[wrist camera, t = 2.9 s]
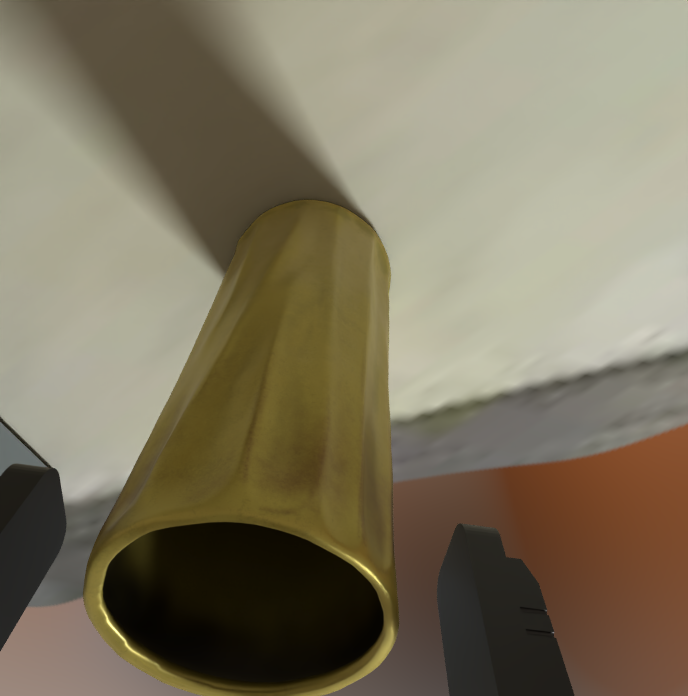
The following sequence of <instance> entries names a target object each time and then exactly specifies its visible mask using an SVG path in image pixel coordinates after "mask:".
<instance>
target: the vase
mask: <svg viewBox="0 0 688 696" xmlns="http://www.w3.org/2000/svg"><path fill="white" fill-rule="evenodd" d="M390 280H391V270H390V264H389V260H388V256H387V253H386V251H385V248H384V246H383V244H382V242H381V240H380V239H379V237H378V235H377V233H376V232H375V231H374V230H373V229H372V228H371V227H370V226H369V225H368V224H367V223H366V222H365V221H363V220H362V219H361V218H359V217H358V216H357V215H355V214H354V213H352V212H351V211H349V210H347V209H346V208H343V207H341V206H339V205H336V204H332V203H329V202H324V201H318V200H298V201H292V202H288V203H285V204H281V205H279V206H276V207H274V208H271V209H270V210H268V211H266V212H264V213H263V214H262V215H261V216H259V217H258V218H257V219H256V220H255V221H254V222H253V223H252V225H251V226H250V227H249V228H248V229H247V230H246V232H245V233H244V234H243V235H242V237H241V238H240V239H239V241H238V243H237V247H236V251H235V254H234V257H233V259H232V261H231V264H230V266H229V268H228V270H227V272H226V275H225V277H224V279H223V281H222V284H221V286H220V288H219V290H218V293H217V295H216V297H215V300H214V302H213V304H212V307H211V309H210V311H209V313H208V316H207V318H206V320H205V322H204V324H203V327H202V329H201V331H200V333H199V336H198V338H197V340H196V342H195V345H194V347H193V349H192V351H191V353H190V355H189V358H188V360H187V362H186V364H185V366H184V368H183V370H182V372H181V375H180V377H179V379H178V381H177V383H176V385H175V387H174V389H173V391H172V393H171V395H170V397H169V399H168V401H167V403H166V405H165V407H164V409H163V411H162V412H161V414H160V416H159V418H158V420H157V422H156V424H155V426H154V429H153V431H152V433H151V435H150V437H149V439H148V441H147V443H146V444H145V446H144V448H143V450H142V452H141V454H140V456H139V458H138V460H137V462H136V464H135V466H134V468H133V470H132V472H131V474H130V476H129V478H128V480H127V482H126V484H125V486H124V488H123V490H122V492H121V494H120V496H119V497H118V499H117V501H116V503H115V505H114V507H113V509H112V510H111V512H110V514H109V516H108V518H107V520H106V521H105V523H104V525H103V527H102V529H101V530H100V533H99V535H98V537H97V539H96V542H95V544H94V547H93V549H92V552H91V554H90V557H89V560H88V563H87V568H86V574H85V580H84V589H83V599H84V605H85V608H86V612H87V614H88V617H89V619H90V620H91V622H92V624H93V625H94V627H95V628H96V630H97V631H98V632H99V634H100V635H101V637H102V638H103V639H104V641H105V642H106V643H107V644H108V645H109V646H110V647H111V648H112V649H113V650H114V651H115V652H116V653H117V654H118V655H119V656H120V657H122V658H123V659H124V660H126V661H127V662H129V663H130V664H132V665H133V666H135V667H136V668H138V669H140V670H141V671H143V672H145V673H147V674H149V675H150V676H152V677H154V678H156V679H157V680H159V681H161V682H163V683H166V684H168V685H171V686H173V687H176V688H178V689H182V690H185V691H188V692H191V693H194V694H198V695H202V696H321V695H325V694H329V693H332V692H334V691H337V690H340V689H341V688H343V687H345V686H347V685H349V684H351V683H353V682H355V681H357V680H359V679H360V678H362V677H364V676H365V675H367V674H369V673H370V672H371V671H373V670H374V669H375V668H377V667H378V666H379V665H380V664H381V663H382V662H383V660H384V659H385V658H386V656H387V655H388V653H389V652H390V650H391V649H392V647H393V645H394V643H395V641H396V637H397V633H398V629H399V609H398V597H397V582H396V569H395V556H394V533H393V532H394V531H393V473H392V456H391V426H390V410H389V391H388V351H389V288H390Z"/></svg>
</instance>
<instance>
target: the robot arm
mask: <svg viewBox="0 0 688 696" xmlns="http://www.w3.org/2000/svg"><path fill="white" fill-rule="evenodd" d="M65 532H66V516H65V509H64V503H63V496H62V490H61V483H60V477H59V473H58V471H57V470H56V469H55V468H48V467H40V466H33V465H25V464H18V463H15V464H12V465H10V466H9V467H8V468H7V469H6V470H5V471H4V472H3V473H2V475H1V476H0V651H1V649H2V648H3V646H4V644H5V643H6V641H7V639H8V638H9V636H10V634H11V632H12V631H13V629H14V627H15V626H16V624H17V622H18V621H19V619H20V617H21V616H22V614H23V612H24V610H25V609H26V607H27V605H28V604H29V602H30V600H31V599H32V597H33V595H34V594H35V592H36V590H37V589H38V587H39V585H40V584H41V582H42V580H43V579H44V577H45V575H46V573H47V572H48V570H49V568H50V567H51V565H52V563H53V562H54V560H55V558H56V557H57V555H58V553H59V551H60V549H61V546H62V544H63V541H64V537H65ZM437 602H438V610H439V618H440V626H441V634H442V641H443V648H444V657H445V664H446V671H447V680H448V687H449V695H450V696H574V693H573V689H572V686H571V683H570V680H569V677H568V674H567V671H566V668H565V664H564V662H563V658H562V655H561V652H560V649H559V646H558V643H557V640H556V638H554V630H553V627H552V624H551V621H550V618H549V616H548V615H547V608H546V605H545V602H544V599H543V596H542V593H541V589H540V586H539V583H538V582H537V581H536V579H535V578H534V577H533V575H532V574H531V572H530V571H529V570H528V568H527V567H526V565H525V564H524V563H523V561H522V560H521V559H515V558H507V557H506V556H505V552H504V548H503V545H502V541H501V538H500V534H499V532H498V531H497V529H495V528H490V527H482V526H475V525H467V524H458V525H457V527H456V528H455V531H454V533H453V536H452V539H451V542H450V545H449V547H448V550H447V553H446V556H445V558H444V561H443V564H442V566H441V569H440V572H439V577H438V585H437Z"/></svg>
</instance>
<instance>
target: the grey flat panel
mask: <svg viewBox="0 0 688 696" xmlns="http://www.w3.org/2000/svg"><path fill="white" fill-rule="evenodd" d="M15 463H18V464H25V465H33V466H40V467H46V466H45V465H44V464H43V463H42V462H41V461H40V460H39V459H38V458H37V457H36V456H35V455H34V454H33V453H32V452H31V451H30V450H29V449H28V448H27V447H26V446H25V445H24V444H23V443H22V442H21V441H20V440H19V439H17V438H16V437H15V436H14V435H13V434H12V433H11V432H10V431H9V430H8V429H7V428H6V427H5V426H4V425H3V424H2V423H1V422H0V476H1V475H2V473H3V472H4V471H5V470H6V469H7V468H8V467H9V466H10V465H12V464H15Z"/></svg>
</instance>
